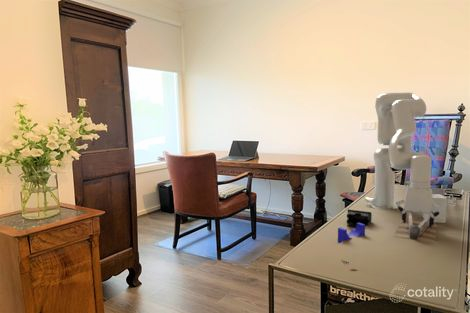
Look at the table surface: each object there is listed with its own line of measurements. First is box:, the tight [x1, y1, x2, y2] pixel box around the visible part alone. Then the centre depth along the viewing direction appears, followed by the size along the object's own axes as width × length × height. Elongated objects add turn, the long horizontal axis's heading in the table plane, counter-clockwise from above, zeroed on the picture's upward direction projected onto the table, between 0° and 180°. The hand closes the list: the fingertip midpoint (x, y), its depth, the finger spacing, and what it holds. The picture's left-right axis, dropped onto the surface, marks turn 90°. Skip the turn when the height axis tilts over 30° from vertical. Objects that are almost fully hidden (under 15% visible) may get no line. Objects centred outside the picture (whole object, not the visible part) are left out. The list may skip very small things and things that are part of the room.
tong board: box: [393, 219, 439, 244], centre depth 140 cm, size 24×14×6 cm, turn 146°
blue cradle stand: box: [337, 223, 366, 244], centre depth 136 cm, size 12×4×6 cm, turn 119°
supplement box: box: [422, 193, 448, 223], centre depth 153 cm, size 7×7×13 cm
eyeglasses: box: [443, 193, 457, 208], centre depth 184 cm, size 16×19×5 cm
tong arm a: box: [406, 212, 413, 234], centre depth 143 cm, size 19×2×4 cm, turn 154°
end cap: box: [346, 208, 373, 229], centre depth 152 cm, size 10×7×7 cm
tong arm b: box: [418, 215, 430, 236], centre depth 140 cm, size 19×2×4 cm, turn 138°
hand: (417, 224), depth 142 cm, fingers open, 9 cm apart
